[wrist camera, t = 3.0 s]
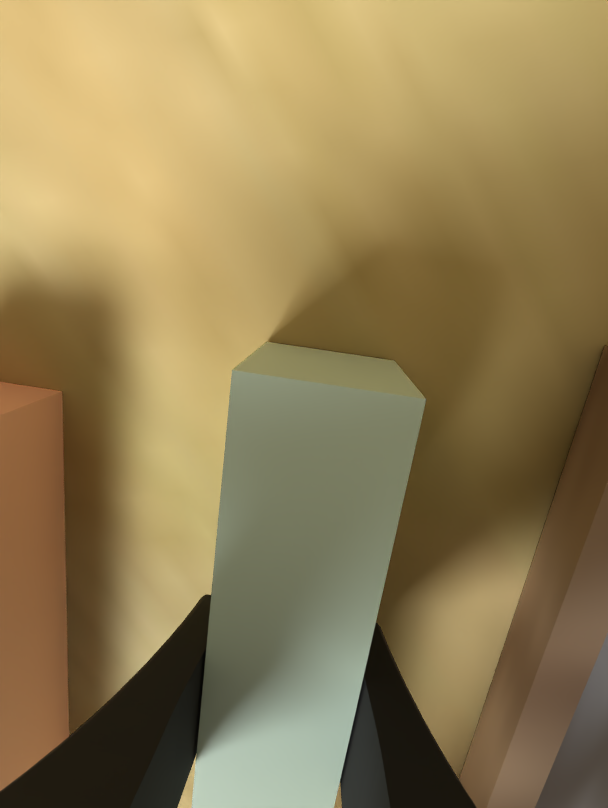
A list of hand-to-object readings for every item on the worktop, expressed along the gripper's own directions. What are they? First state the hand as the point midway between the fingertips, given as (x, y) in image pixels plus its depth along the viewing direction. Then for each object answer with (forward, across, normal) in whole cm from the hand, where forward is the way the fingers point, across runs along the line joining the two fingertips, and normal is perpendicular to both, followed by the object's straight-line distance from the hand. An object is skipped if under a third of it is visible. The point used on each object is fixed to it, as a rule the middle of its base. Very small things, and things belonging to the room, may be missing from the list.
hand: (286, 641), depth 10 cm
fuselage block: (+1, 0, 0) cm, 1 cm away
